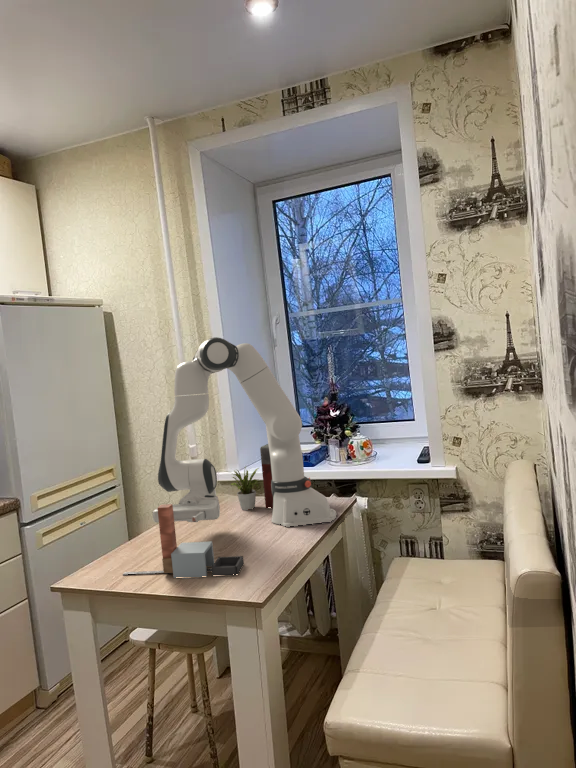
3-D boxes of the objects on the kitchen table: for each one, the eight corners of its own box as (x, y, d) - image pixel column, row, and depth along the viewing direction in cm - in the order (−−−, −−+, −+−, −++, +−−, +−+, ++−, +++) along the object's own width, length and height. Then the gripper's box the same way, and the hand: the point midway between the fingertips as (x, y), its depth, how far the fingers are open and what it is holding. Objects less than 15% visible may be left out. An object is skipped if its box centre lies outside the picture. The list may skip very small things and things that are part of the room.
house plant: (223, 515, 219) (218, 471, 218) (228, 505, 232) (224, 464, 231) (261, 512, 218) (257, 468, 217) (265, 502, 232) (261, 460, 231)
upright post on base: (203, 565, 167) (197, 502, 166) (199, 571, 162) (192, 506, 161) (168, 566, 168) (162, 504, 167) (163, 573, 164) (156, 508, 163)
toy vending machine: (299, 501, 229) (292, 428, 228) (287, 509, 219) (280, 433, 217) (278, 500, 233) (271, 429, 231) (265, 508, 223) (258, 434, 221)
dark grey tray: (243, 564, 167) (243, 556, 167) (237, 575, 159) (236, 566, 159) (219, 565, 168) (218, 557, 168) (212, 576, 160) (211, 567, 160)
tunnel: (214, 564, 169) (212, 541, 168) (206, 577, 160) (203, 552, 160) (183, 566, 170) (181, 542, 170) (173, 578, 161) (171, 554, 161)
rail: (214, 569, 165) (214, 568, 165) (213, 571, 164) (213, 570, 164) (124, 573, 169) (124, 572, 168) (122, 575, 167) (122, 574, 167)
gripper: (160, 499, 190) (144, 511, 177) (222, 495, 188) (211, 508, 174) (162, 518, 191) (146, 532, 177) (224, 515, 188) (213, 529, 174)
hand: (179, 520), depth 176 cm, fingers open, 8 cm apart
